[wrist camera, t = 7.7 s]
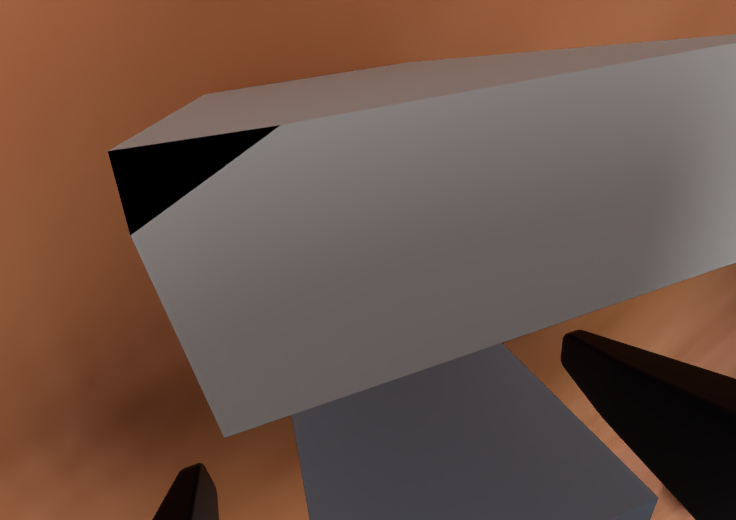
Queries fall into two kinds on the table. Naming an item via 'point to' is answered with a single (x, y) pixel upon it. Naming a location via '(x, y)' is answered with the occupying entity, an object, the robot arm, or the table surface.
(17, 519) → the table surface
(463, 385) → the domino
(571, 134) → the domino
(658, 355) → the robot arm
